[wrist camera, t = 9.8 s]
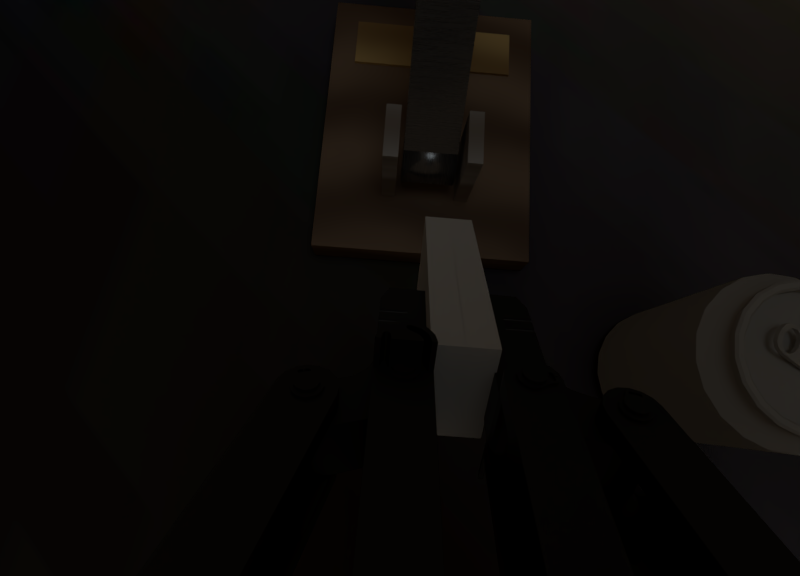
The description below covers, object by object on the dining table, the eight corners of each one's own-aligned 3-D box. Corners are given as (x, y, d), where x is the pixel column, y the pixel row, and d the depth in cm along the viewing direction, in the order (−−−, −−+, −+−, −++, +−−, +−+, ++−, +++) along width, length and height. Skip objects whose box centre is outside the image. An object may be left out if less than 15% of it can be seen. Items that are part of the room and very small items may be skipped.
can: (674, 463, 30) (868, 503, 18) (568, 388, 30) (688, 379, 19) (731, 360, 31) (944, 336, 19) (628, 291, 32) (775, 226, 20)
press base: (519, 270, 32) (558, 234, 25) (315, 254, 31) (298, 213, 25) (522, 41, 36) (557, -45, 29) (340, 24, 35) (331, -66, 28)
